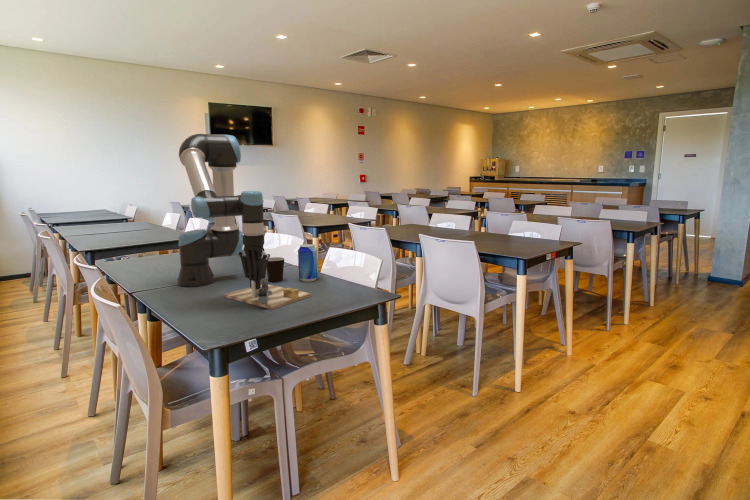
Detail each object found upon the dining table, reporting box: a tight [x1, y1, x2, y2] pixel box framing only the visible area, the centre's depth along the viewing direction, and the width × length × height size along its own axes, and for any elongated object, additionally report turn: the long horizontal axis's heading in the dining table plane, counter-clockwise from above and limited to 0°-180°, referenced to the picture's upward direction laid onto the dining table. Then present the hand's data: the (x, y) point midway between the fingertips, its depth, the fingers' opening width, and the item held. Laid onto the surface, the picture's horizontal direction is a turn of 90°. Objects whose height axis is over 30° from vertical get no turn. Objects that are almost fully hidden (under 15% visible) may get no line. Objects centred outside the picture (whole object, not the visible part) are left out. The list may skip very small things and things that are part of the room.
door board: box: [223, 278, 312, 310], centre depth 170 cm, size 28×20×7 cm
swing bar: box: [258, 287, 269, 303], centre depth 161 cm, size 14×3×4 cm, turn 11°
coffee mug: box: [266, 256, 285, 283], centre depth 197 cm, size 12×9×10 cm
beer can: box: [297, 243, 319, 283], centre depth 196 cm, size 8×8×16 cm
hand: (255, 297), depth 161 cm, fingers closed
